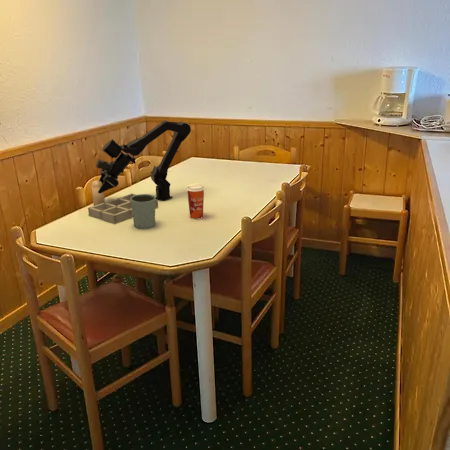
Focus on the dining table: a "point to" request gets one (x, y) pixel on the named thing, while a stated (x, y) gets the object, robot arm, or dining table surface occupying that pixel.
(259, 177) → the dining table surface
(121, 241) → the dining table surface
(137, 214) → the grey green pot
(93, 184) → the beige capped bottle
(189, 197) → the paper cup
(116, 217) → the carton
